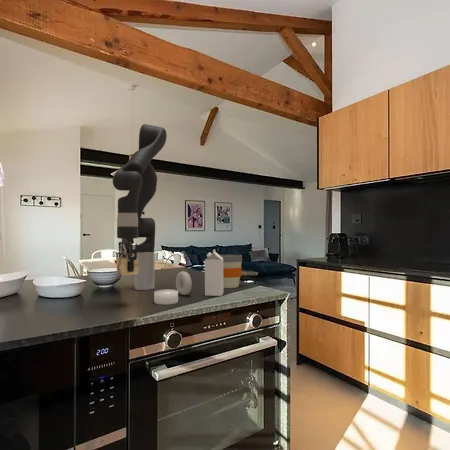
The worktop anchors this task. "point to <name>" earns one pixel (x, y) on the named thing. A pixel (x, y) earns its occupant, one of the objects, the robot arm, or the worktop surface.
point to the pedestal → (165, 297)
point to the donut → (187, 285)
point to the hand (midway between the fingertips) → (127, 270)
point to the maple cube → (125, 266)
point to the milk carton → (214, 275)
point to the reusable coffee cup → (231, 270)
